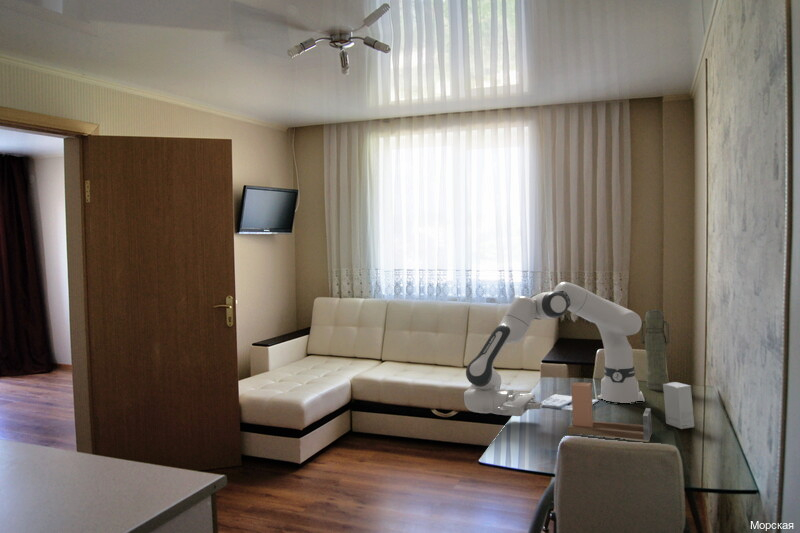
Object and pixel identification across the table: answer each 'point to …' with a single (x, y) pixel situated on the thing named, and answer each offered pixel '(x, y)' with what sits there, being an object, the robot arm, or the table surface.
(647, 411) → the chute
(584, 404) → the post
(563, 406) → the folded bicycle print cloth
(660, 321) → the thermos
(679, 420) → the skincare box
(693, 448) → the table surface
